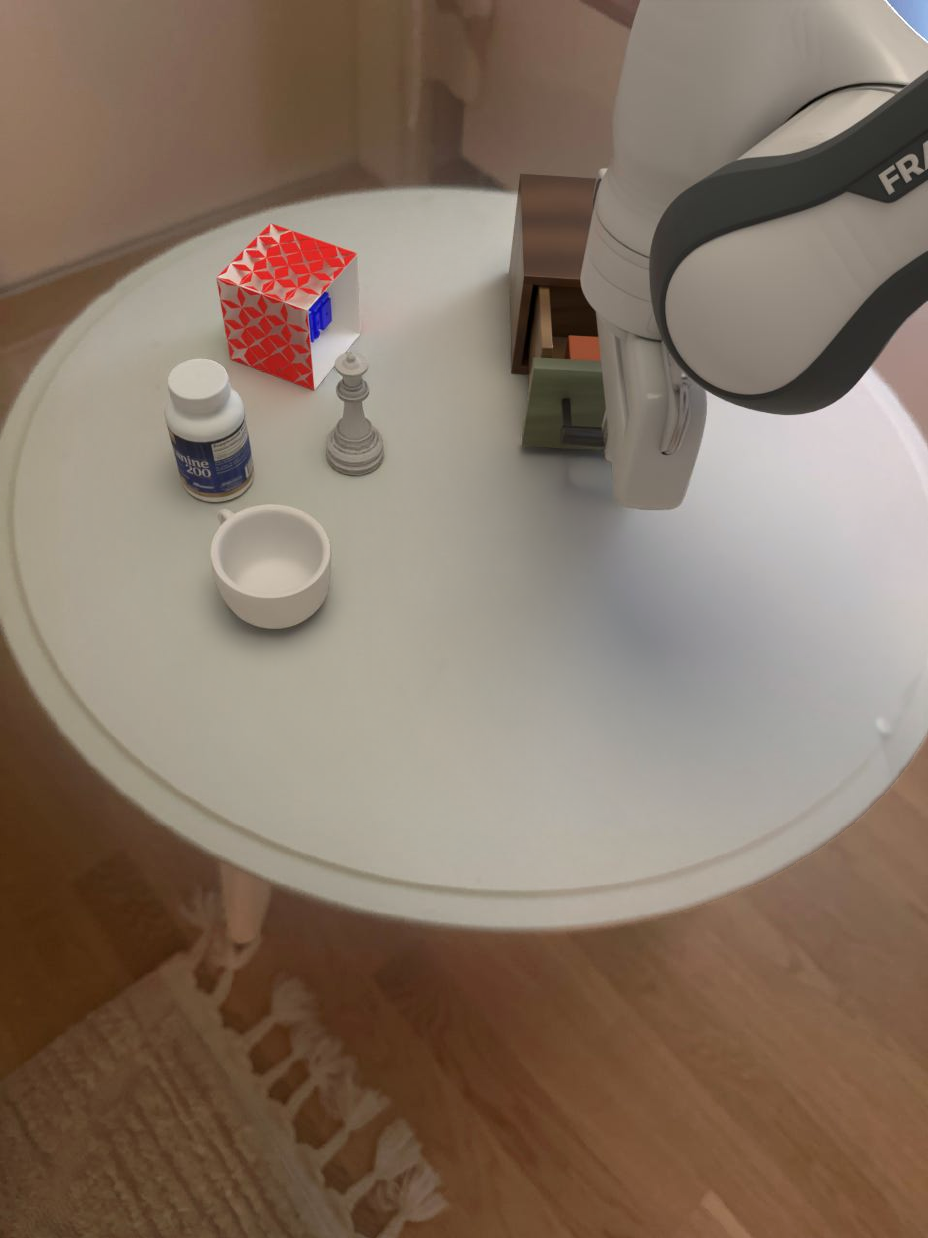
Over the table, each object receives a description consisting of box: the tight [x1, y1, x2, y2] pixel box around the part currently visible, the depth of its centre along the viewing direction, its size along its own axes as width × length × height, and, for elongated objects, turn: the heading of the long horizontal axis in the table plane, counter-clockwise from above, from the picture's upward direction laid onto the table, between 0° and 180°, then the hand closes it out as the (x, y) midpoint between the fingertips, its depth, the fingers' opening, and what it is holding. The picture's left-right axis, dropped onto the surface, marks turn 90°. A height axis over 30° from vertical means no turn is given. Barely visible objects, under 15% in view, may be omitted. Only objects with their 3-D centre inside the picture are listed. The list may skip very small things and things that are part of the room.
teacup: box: [209, 503, 333, 630], centre depth 66 cm, size 10×8×5 cm
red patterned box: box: [215, 223, 361, 391], centre depth 79 cm, size 8×8×8 cm
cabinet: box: [508, 173, 597, 375], centre depth 82 cm, size 14×12×10 cm
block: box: [564, 335, 601, 361], centre depth 76 cm, size 4×4×4 cm
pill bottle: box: [164, 358, 255, 503], centre depth 70 cm, size 5×5×10 cm
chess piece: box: [325, 351, 385, 476], centre depth 72 cm, size 4×4×10 cm
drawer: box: [521, 285, 606, 451], centre depth 75 cm, size 17×10×8 cm, turn 179°
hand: (615, 446), depth 64 cm, fingers closed
